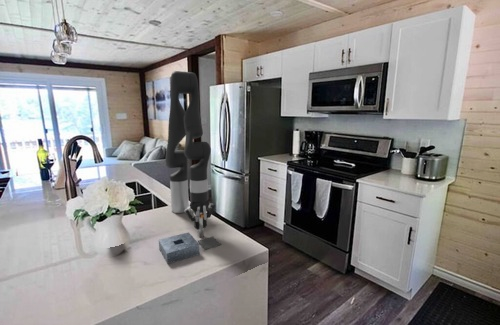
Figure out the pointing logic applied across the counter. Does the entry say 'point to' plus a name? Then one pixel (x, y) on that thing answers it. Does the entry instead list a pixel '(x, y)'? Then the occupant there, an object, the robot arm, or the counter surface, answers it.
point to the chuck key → (200, 225)
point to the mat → (209, 242)
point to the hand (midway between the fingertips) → (200, 228)
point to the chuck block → (178, 247)
